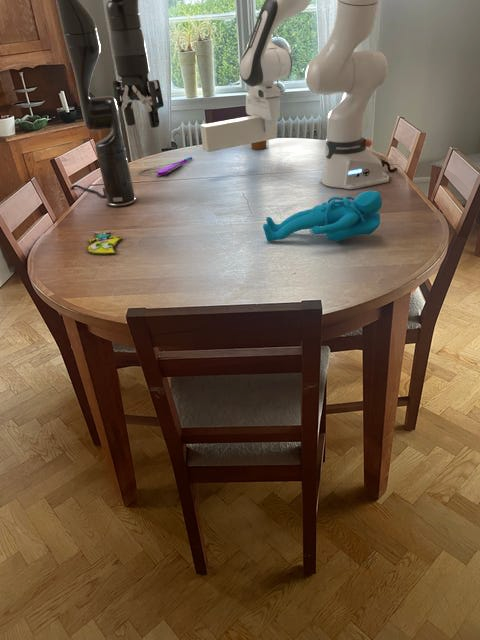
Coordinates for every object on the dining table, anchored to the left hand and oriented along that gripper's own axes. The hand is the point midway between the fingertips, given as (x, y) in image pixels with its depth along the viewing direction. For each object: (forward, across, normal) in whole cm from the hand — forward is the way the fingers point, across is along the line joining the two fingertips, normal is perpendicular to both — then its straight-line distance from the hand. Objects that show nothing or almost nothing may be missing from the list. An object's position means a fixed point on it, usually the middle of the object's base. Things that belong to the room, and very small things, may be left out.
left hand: (143, 126), depth 120 cm
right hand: (+16, -10, +67) cm, 70 cm away
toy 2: (+30, +41, +18) cm, 54 cm away
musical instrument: (+30, -49, +52) cm, 78 cm away
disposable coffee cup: (+30, -30, +93) cm, 103 cm away
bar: (+19, -14, +59) cm, 63 cm away
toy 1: (+30, -11, -12) cm, 34 cm away
